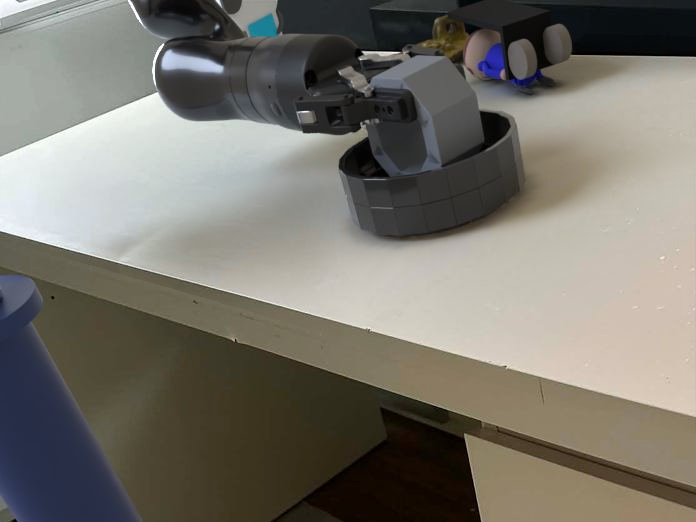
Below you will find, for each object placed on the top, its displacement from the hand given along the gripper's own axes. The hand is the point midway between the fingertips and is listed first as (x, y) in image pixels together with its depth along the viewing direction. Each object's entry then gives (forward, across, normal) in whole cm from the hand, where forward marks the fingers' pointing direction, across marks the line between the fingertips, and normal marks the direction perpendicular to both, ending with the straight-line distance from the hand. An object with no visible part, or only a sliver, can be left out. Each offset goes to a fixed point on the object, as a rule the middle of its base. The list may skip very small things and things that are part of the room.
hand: (437, 93), depth 74 cm
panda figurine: (-67, +27, +9) cm, 72 cm away
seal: (-38, +31, +9) cm, 50 cm away
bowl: (-3, 0, +9) cm, 9 cm away
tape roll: (-3, 0, +7) cm, 7 cm away
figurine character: (-19, +28, +9) cm, 35 cm away
